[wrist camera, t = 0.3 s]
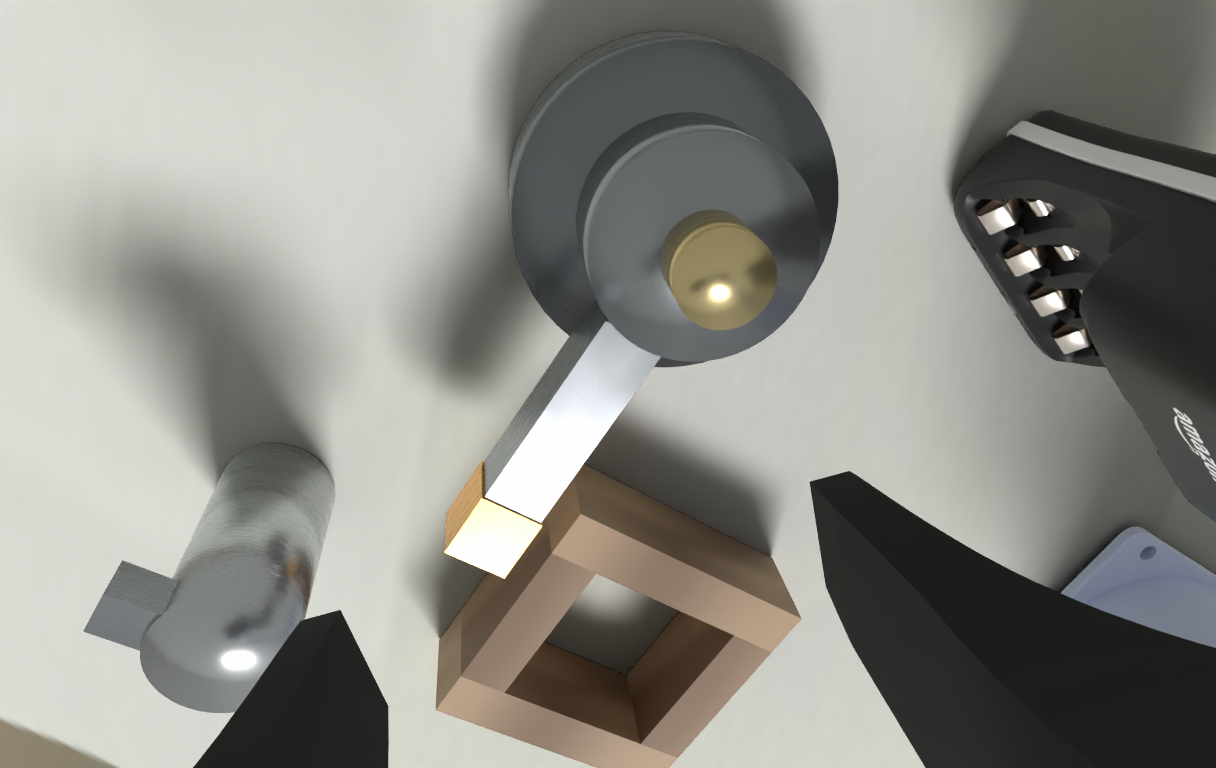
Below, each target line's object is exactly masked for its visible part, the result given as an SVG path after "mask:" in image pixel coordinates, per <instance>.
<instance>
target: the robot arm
mask: <svg viewBox="0 0 1216 768" xmlns="http://www.w3.org/2000/svg"><path fill="white" fill-rule="evenodd" d="M810 487H811V494H812V500H813V506H814V513H815V519H816V526H817V532H818V539H819V545H820V551H821V558H822V564H823V571H824V577H825V584H826V588H827V590H828V592H829V595H830V597H831V599H832V602H833V604H834V606H835V608H836V611H837V613H838V615H839V618H840V620H841V622H842V624H843V626H844V629H845V631H846V633H847V635H848V637H849V640H850V642H851V644H852V646H853V647H854V649H855V651H856V653H857V654H858V656H859V658H860V659H861V661H862V663H863V664H864V666H865V668H866V669H867V671H868V673H869V675H870V676H871V678H872V680H873V681H874V683H875V685H876V686H877V688H878V690H879V691H880V693H881V695H882V696H883V698H884V700H885V701H886V703H887V705H888V706H889V708H890V709H891V711H892V713H893V714H894V716H895V718H896V719H897V721H898V723H899V724H900V726H901V728H902V729H903V731H904V733H905V734H906V736H907V738H908V739H909V741H910V743H911V744H912V746H913V748H914V749H915V751H916V753H917V754H918V756H919V758H920V759H921V761H922V762H923V764H924V766H925V767H926V768H1216V575H1215V574H1214V573H1212V572H1211V571H1209V570H1207V569H1206V568H1204V567H1203V566H1201V565H1200V564H1198V563H1196V562H1195V561H1193V560H1192V559H1190V558H1189V557H1187V556H1185V555H1184V554H1182V553H1181V552H1179V551H1178V550H1176V549H1175V548H1173V547H1171V546H1170V545H1168V544H1167V543H1165V542H1164V541H1162V540H1160V539H1159V538H1157V537H1156V536H1154V535H1153V534H1151V533H1149V532H1148V531H1146V530H1145V529H1143V528H1141V527H1130V528H1128V529H1125V530H1124V531H1123V532H1121V533H1120V534H1119V535H1118V536H1117V537H1116V538H1115V539H1114V540H1113V541H1112V542H1111V543H1110V544H1109V545H1108V546H1107V547H1106V548H1105V549H1104V550H1103V551H1102V552H1101V553H1100V554H1099V555H1098V556H1097V557H1096V558H1095V559H1094V560H1093V561H1092V562H1091V563H1090V564H1089V565H1088V566H1087V567H1086V568H1085V569H1084V570H1083V571H1082V572H1081V573H1080V574H1079V575H1078V576H1077V577H1076V578H1075V579H1074V580H1073V581H1072V582H1071V583H1070V584H1069V585H1068V586H1067V587H1066V588H1065V589H1064V590H1063V591H1062V592H1061V593H1059V592H1057V591H1054V590H1052V589H1050V588H1047V587H1045V586H1043V585H1041V584H1038V583H1036V582H1034V581H1032V580H1030V579H1028V578H1026V577H1024V576H1021V575H1019V574H1017V573H1015V572H1013V571H1011V570H1009V569H1007V568H1006V567H1004V566H1002V565H1000V564H998V563H996V562H994V561H992V560H990V559H989V558H987V557H985V556H983V555H981V554H979V553H978V552H976V551H974V550H972V549H971V548H969V547H967V546H965V545H964V544H962V543H960V542H959V541H957V540H955V539H954V538H952V537H950V536H949V535H947V534H945V533H944V532H942V531H940V530H939V529H937V528H935V527H934V526H932V525H931V524H929V523H927V522H926V521H924V520H923V519H921V518H919V517H918V516H916V515H915V514H913V513H912V512H910V511H909V510H907V509H906V508H904V507H903V506H901V505H900V504H898V503H897V502H895V501H894V500H892V499H891V498H889V497H888V496H886V495H885V494H883V493H882V492H880V491H879V490H877V489H876V488H874V487H873V486H872V485H870V484H869V483H867V482H866V481H864V480H863V479H861V478H860V477H858V476H857V475H855V474H853V473H852V472H850V471H848V472H844V473H840V474H837V475H833V476H829V477H826V478H822V479H818V480H815V481H811V482H810ZM1143 549H1144V550H1143ZM388 744H389V740H388V705H387V703H386V701H385V699H384V697H383V695H382V693H381V691H380V689H379V687H378V685H377V683H376V681H375V679H374V677H373V675H372V673H371V671H370V669H369V667H368V665H367V663H366V661H365V659H364V657H363V655H362V653H361V651H360V649H359V647H358V645H357V643H356V641H355V639H354V637H353V634H352V632H351V630H350V628H349V626H348V624H347V622H346V620H345V618H344V616H343V614H342V612H341V610H338V611H335V612H331V613H327V614H324V615H320V616H316V617H313V618H309V619H305V620H302V621H300V622H299V624H298V625H297V626H296V628H295V629H294V630H293V631H292V633H291V634H290V636H289V637H288V638H287V640H286V641H285V643H284V644H283V645H282V647H281V648H280V650H279V651H278V652H277V654H276V655H275V657H274V658H273V660H272V661H271V662H270V664H269V665H268V667H267V668H266V670H265V671H264V672H263V674H262V675H261V677H260V678H259V680H258V681H257V683H256V684H255V685H254V687H253V688H252V690H251V691H250V692H249V694H248V695H247V697H246V698H245V699H244V701H243V702H242V704H241V705H240V706H239V708H238V709H237V710H236V712H235V713H234V715H233V716H232V717H231V719H230V720H229V722H228V723H227V724H226V726H225V727H224V729H223V730H222V731H221V733H220V734H219V735H218V737H217V738H216V739H215V741H214V742H213V743H212V744H211V746H210V747H209V748H208V749H207V751H206V752H205V753H204V755H203V756H202V757H201V758H200V760H199V761H198V762H197V764H196V765H195V766H194V767H193V768H388Z"/></svg>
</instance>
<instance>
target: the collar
mask: <svg viewBox="0 0 1216 768" xmlns="http://www.w3.org/2000/svg"><path fill="white" fill-rule="evenodd" d="M703 210H722V211H726V212H729V213H731V214H733V215H735V216H737V217H738V218H740V219H741V220H742V221H743V222H744V223H745V224H746V225H747V226H748V227H749V228H750V229H751V230H752V231H753V232H754V233H755V234H756V235H757V236H758V237H759V238H760V240H761V241H762V242H763V243H764V244H765V245H766V246H767V247H768V248H769V250H770V251H771V253H772V255H773V257H774V259H775V262H776V267H777V283H776V288H775V291H774V294H773V296H772V298H771V300H770V302H769V303H768V305H767V306H766V308H765V309H764V310H763V311H762V312H761V313H760V314H759V315H758V316H757V317H756V318H754V319H753V320H752V321H750V322H748V323H747V324H745V325H743V326H740V327H737V328H734V329H729V330H711V329H707V328H704V327H701V326H699V325H697V324H695V323H694V322H692V321H691V320H690V319H689V318H687V317H686V316H685V314H684V313H683V312H682V310H681V309H680V307H679V305H678V303H677V302H676V300H675V298H674V296H673V294H672V293H671V291H670V289H669V287H668V286H667V284H666V282H665V280H664V278H663V275H662V272H661V267H660V255H661V250H662V246H663V243H664V241H665V239H666V237H667V235H668V234H669V232H670V231H671V230H672V228H673V227H674V226H675V225H676V224H677V223H678V222H680V221H681V220H682V219H684V218H685V217H687V216H689V215H691V214H693V213H696V212H699V211H703ZM576 234H577V241H578V246H579V250H580V253H581V256H582V260H583V263H584V265H585V268H586V271H587V274H588V277H589V280H590V283H591V286H592V289H593V292H594V295H595V297H596V298H595V299H594V301H593V302H592V304H591V305H590V307H589V308H588V310H587V311H586V313H585V314H584V316H583V317H582V319H581V320H580V322H579V323H578V325H577V326H576V328H575V329H574V330H573V332H572V333H571V335H570V336H569V338H568V339H567V341H566V342H565V344H564V345H563V347H562V348H561V350H560V351H559V353H558V354H557V356H556V357H555V359H554V360H553V361H552V363H551V364H550V366H549V367H548V369H547V370H546V372H545V373H544V375H543V376H542V378H541V379H540V381H539V382H538V384H537V385H536V387H535V388H534V390H533V391H532V392H531V394H530V395H529V397H528V398H527V400H526V401H525V403H524V404H523V406H522V407H521V409H520V410H519V412H518V413H517V415H516V416H515V418H514V419H513V421H512V422H511V423H510V425H509V426H508V428H507V429H506V431H505V432H504V434H503V435H502V437H501V438H500V440H499V441H498V443H497V444H496V446H495V447H494V449H493V450H492V452H491V453H490V454H489V456H488V457H487V459H486V460H485V462H482V461H481V463H480V464H479V466H478V467H477V469H476V470H475V472H474V473H473V475H472V476H471V478H470V479H469V481H468V482H467V484H466V485H465V486H464V488H463V489H462V491H461V492H460V494H459V495H458V497H457V498H456V500H455V501H454V503H453V504H452V506H451V507H450V509H449V510H448V512H447V514H446V534H445V553H446V554H449V555H451V556H453V557H456V558H458V559H460V560H463V561H465V562H467V563H470V564H472V565H474V566H477V567H479V568H481V569H484V570H486V571H488V572H491V573H493V574H495V575H498V576H500V577H502V578H505V577H506V575H507V574H508V573H509V571H510V570H511V569H512V567H513V566H514V564H515V563H516V562H517V560H518V559H519V558H520V556H521V555H522V553H523V552H524V551H525V549H526V548H527V546H528V545H529V544H530V542H531V541H532V540H533V538H534V537H535V535H536V534H537V533H538V531H539V530H540V529H541V527H542V521H543V519H544V518H545V516H546V515H547V514H548V512H549V511H550V510H551V508H552V507H553V505H554V504H555V503H556V501H557V500H558V499H559V497H560V496H561V494H562V493H563V492H564V490H565V489H566V487H567V486H568V485H569V483H570V482H571V481H572V479H573V478H574V476H575V475H576V474H577V472H578V471H579V470H580V468H581V467H582V465H583V464H584V463H585V461H586V460H587V458H588V457H589V456H590V454H591V453H592V452H593V450H594V449H595V447H596V446H597V445H598V443H599V442H600V441H601V439H602V438H603V436H604V435H605V434H606V432H607V431H608V429H609V428H610V427H611V425H612V424H613V423H614V421H615V420H616V418H617V417H618V416H619V414H620V413H621V411H622V410H623V409H624V407H625V406H626V405H627V403H628V402H629V400H630V399H631V398H632V396H633V395H634V394H635V392H636V391H637V389H638V388H639V387H640V385H641V384H642V382H643V381H644V380H645V378H646V377H647V376H648V374H649V373H650V371H651V370H652V369H653V367H654V366H655V365H656V363H657V362H658V360H659V359H660V358H661V357H663V358H667V359H672V360H677V361H690V362H696V361H709V360H715V359H721V358H724V357H728V356H731V355H734V354H737V353H739V352H742V351H744V350H746V349H748V348H750V347H752V346H754V345H756V344H757V343H759V342H761V341H762V340H764V339H765V338H766V337H768V336H769V335H771V334H772V333H773V332H774V331H776V330H777V329H778V328H779V327H780V326H781V325H782V324H783V323H784V322H785V321H786V320H787V319H788V318H789V316H790V315H791V314H792V313H793V312H794V311H795V309H796V308H797V306H798V305H799V303H800V302H801V300H802V299H803V297H804V295H805V293H806V291H807V289H808V288H809V286H810V283H811V281H812V278H813V275H814V273H815V269H816V265H817V261H818V257H819V248H820V225H819V218H818V212H817V209H816V206H815V203H814V199H813V197H812V195H811V193H810V191H809V188H808V186H807V185H806V183H805V181H804V180H803V178H802V177H801V175H800V174H799V173H798V172H797V170H796V169H795V168H794V167H793V166H792V165H791V164H790V163H789V162H788V161H787V160H786V159H785V158H783V157H782V156H781V155H780V154H779V153H777V152H776V151H774V150H773V149H772V148H770V147H769V146H767V145H766V144H764V143H763V142H761V141H760V140H759V139H757V138H756V137H754V136H753V135H751V134H750V133H748V132H747V131H746V130H744V129H742V128H741V127H739V126H737V125H736V124H734V123H732V122H730V121H728V120H725V119H723V118H721V117H717V116H713V115H710V114H705V113H696V112H678V113H671V114H665V115H661V116H658V117H655V118H651V119H649V120H646V121H644V122H642V123H640V124H638V125H636V126H634V127H632V128H631V129H629V130H628V131H626V132H624V133H623V134H622V135H620V136H619V137H618V138H617V139H616V140H614V141H613V142H612V143H611V144H610V145H609V146H608V147H607V148H606V149H605V150H604V151H603V152H602V154H601V155H600V156H599V158H598V159H597V160H596V162H595V163H594V165H593V166H592V168H591V170H590V172H589V174H588V175H587V177H586V180H585V182H584V185H583V187H582V190H581V193H580V197H579V201H578V205H577V214H576Z"/></svg>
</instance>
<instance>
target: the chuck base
mask: <svg viewBox="0 0 1216 768" xmlns="http://www.w3.org/2000/svg"><path fill="white" fill-rule="evenodd" d="M678 112H696V113H705V114H710V115H713V116H717V117H721V118H723V119H725V120H728V121H730V122H732V123H734V124H736V125H737V126H739V127H741V128H742V129H744V130H746V131H747V132H748V133H750V134H751V135H753V136H754V137H756V138H757V139H759V140H760V141H761V142H763V143H764V144H766V145H767V146H769V147H770V148H772V149H773V150H774V151H776V152H777V153H779V154H780V155H781V156H782V157H783V158H785V159H786V160H787V161H788V162H789V163H790V164H791V165H792V166H793V167H794V168H795V169H796V170H797V172H798V173H799V174H800V175H801V177H802V178H803V180H804V181H805V183H806V185H807V186H808V188H809V191H810V193H811V195H812V197H813V199H814V203H815V206H816V209H817V212H818V218H819V225H820V248H819V257H818V261H817V265H816V269H815V273H814V275H813V278H812V281H811V283H812V282H813V280H814V279H815V277H816V275H817V273H818V271H819V269H820V267H821V265H822V263H823V261H824V259H825V256H826V253H827V251H828V248H829V245H830V243H831V239H832V235H833V231H834V227H835V223H836V216H837V208H838V175H837V168H836V161H835V157H834V153H833V150H832V146H831V142H830V139H829V137H828V134H827V132H826V130H825V127H824V125H823V123H822V121H821V119H820V117H819V115H818V114H817V112H816V111H815V109H814V107H813V106H812V104H811V103H810V101H809V100H808V99H807V97H806V96H805V95H804V94H803V93H802V92H801V90H800V89H799V88H798V87H797V86H796V85H795V84H794V83H793V82H792V81H791V80H790V79H789V78H788V77H786V76H785V75H784V74H783V73H782V72H781V71H780V70H778V69H776V68H775V67H773V66H772V65H770V64H769V63H767V62H766V61H764V60H763V59H761V58H759V57H757V56H754V55H752V54H750V53H748V52H745V51H743V50H741V49H739V48H736V47H734V46H731V45H729V44H726V43H724V42H721V41H719V40H716V39H713V38H709V37H706V36H702V35H699V34H694V33H686V32H679V31H653V32H647V33H640V34H634V35H630V36H627V37H624V38H620V39H617V40H614V41H611V42H609V43H607V44H605V45H602V46H600V47H598V48H596V49H594V50H592V51H590V52H589V53H587V54H586V55H584V56H582V57H581V58H579V59H578V60H576V61H575V62H573V63H572V64H571V65H570V66H569V67H568V68H566V69H565V70H564V71H563V72H562V73H560V74H559V75H558V76H557V77H556V78H555V79H554V80H553V82H552V83H551V84H550V85H549V86H548V87H547V88H546V89H545V90H544V91H543V93H542V94H541V96H540V97H539V99H538V100H537V101H536V103H535V104H534V106H533V107H532V109H531V110H530V112H529V114H528V116H527V118H526V120H525V122H524V124H523V126H522V128H521V131H520V133H519V136H518V139H517V142H516V144H515V147H514V151H513V156H512V161H511V165H510V173H509V185H508V195H509V211H510V219H511V226H512V234H513V239H514V245H515V250H516V255H517V258H518V261H519V264H520V267H521V270H522V273H523V276H524V278H525V280H526V282H527V284H528V286H529V288H530V290H531V292H532V294H533V295H534V297H535V298H536V300H537V301H538V303H539V304H540V306H541V307H542V309H543V310H544V311H545V312H546V314H547V315H548V316H549V317H550V318H551V319H552V320H553V321H554V322H555V324H556V325H557V326H559V327H560V328H561V329H562V330H563V331H564V332H566V333H567V334H568V335H569V336H570V335H571V333H572V332H573V330H574V329H575V328H576V326H577V325H578V323H579V322H580V320H581V319H582V317H583V316H584V314H585V313H586V311H587V310H588V308H589V307H590V305H591V304H592V302H593V301H594V299H595V298H596V297H595V295H594V292H593V289H592V286H591V283H590V280H589V277H588V274H587V271H586V268H585V265H584V263H583V260H582V256H581V253H580V250H579V246H578V241H577V234H576V214H577V205H578V201H579V197H580V193H581V190H582V187H583V185H584V182H585V180H586V177H587V175H588V174H589V172H590V170H591V168H592V166H593V165H594V163H595V162H596V160H597V159H598V158H599V156H600V155H601V154H602V152H603V151H604V150H605V149H606V148H607V147H608V146H609V145H610V144H611V143H612V142H613V141H614V140H616V139H617V138H618V137H619V136H620V135H622V134H623V133H624V132H626V131H628V130H629V129H631V128H632V127H634V126H636V125H638V124H640V123H642V122H644V121H646V120H649V119H651V118H655V117H658V116H661V115H665V114H671V113H678ZM660 267H661V272H662V275H663V278H664V280H665V282H666V284H667V286H668V287H669V289H670V291H671V293H672V294H673V296H674V298H675V300H676V302H677V303H678V305H679V307H680V309H681V310H682V312H683V313H684V314H685V316H686V317H687V318H689V319H690V320H691V321H692V322H694V323H695V324H697V325H699V326H701V327H704V328H707V329H711V330H729V329H734V328H737V327H740V326H743V325H745V324H747V323H748V322H750V321H752V320H753V319H754V318H756V317H757V316H758V315H759V314H760V313H761V312H762V311H763V310H764V309H765V308H766V306H767V305H768V303H769V302H770V300H771V298H772V296H773V294H774V291H775V288H776V283H777V267H776V262H775V259H774V257H773V255H772V253H771V251H770V250H769V248H768V247H767V246H766V245H765V244H764V243H763V242H762V241H761V240H760V238H759V237H758V236H757V235H756V234H755V233H754V232H753V231H752V230H751V229H750V228H749V227H748V226H747V225H746V224H745V223H744V222H743V221H742V220H741V219H740V218H738V217H737V216H735V215H733V214H731V213H729V212H726V211H722V210H703V211H699V212H696V213H693V214H691V215H689V216H687V217H685V218H684V219H682V220H681V221H680V222H678V223H677V224H676V225H675V226H674V227H673V228H672V230H671V231H670V232H669V234H668V235H667V237H666V239H665V241H664V243H663V246H662V250H661V255H660ZM811 283H810V285H811ZM703 362H706V361H696V362H690V361H677V360H672V359H667V358H663V357H661V358H660V359H659V360H658V362H657V363H656V365H655V366H654V367H677V366H686V365H692V364H697V363H703Z"/></svg>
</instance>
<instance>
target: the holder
mask: <svg viewBox="0 0 1216 768" xmlns="http://www.w3.org/2000/svg"><path fill="white" fill-rule="evenodd" d="M595 574H599V575H601V576H603V577H605V578H608V579H610V580H612V581H614V582H616V583H619V584H621V585H623V586H625V587H628V588H630V589H632V590H634V591H636V592H639V593H641V594H643V595H645V596H648V597H650V598H652V599H654V600H657V601H659V602H661V603H663V604H665V605H668V606H670V607H672V608H674V609H677V610H679V612H678V614H677V615H676V616H675V617H674V618H673V620H672V621H671V622H670V623H669V625H668V626H667V627H666V628H665V629H664V631H663V632H662V633H661V634H660V635H659V637H658V638H657V639H656V640H655V642H654V643H653V644H652V645H651V646H650V648H649V649H648V650H647V651H646V652H645V654H644V655H643V656H642V657H641V659H640V660H639V661H638V662H637V663H636V665H635V666H634V667H633V668H632V669H631V671H630V672H629V673H628V674H627V676H626V675H624V674H621V673H619V672H616V671H614V670H611V669H609V668H606V667H604V666H601V665H599V664H597V663H594V662H592V661H589V660H587V659H584V658H582V657H579V656H577V655H574V654H572V653H570V652H567V651H565V650H562V649H560V648H557V647H555V646H552V645H550V644H547V643H545V642H544V641H545V639H546V638H547V637H548V635H549V634H550V633H551V632H552V630H553V629H554V628H555V626H556V625H557V624H558V622H559V621H560V620H561V619H562V617H563V616H564V615H565V613H566V612H567V611H568V609H569V608H570V607H571V606H572V604H573V603H574V602H575V600H576V599H577V598H578V596H579V595H580V594H581V592H582V591H583V590H584V589H585V587H586V586H587V585H588V583H589V582H590V581H591V579H592V578H593V577H594V576H595ZM800 620H801V617H800V615H799V613H798V611H797V608H796V606H795V604H794V602H793V600H792V598H791V596H790V594H789V592H788V590H787V588H786V586H785V584H784V582H783V579H782V577H781V575H780V573H779V571H778V569H777V567H776V565H775V563H774V561H773V559H772V558H771V557H769V556H767V555H765V554H763V553H761V552H759V551H757V550H755V549H753V548H751V547H749V546H747V545H745V544H743V543H741V542H739V541H737V540H735V539H733V538H731V537H729V536H727V535H725V534H723V533H721V532H719V531H717V530H715V529H713V528H711V527H709V526H707V525H705V524H703V523H701V522H699V521H697V520H695V519H693V518H691V517H689V516H687V515H685V514H683V513H681V512H679V511H677V510H675V509H673V508H671V507H669V506H667V505H665V504H663V503H661V502H659V501H657V500H655V499H653V498H651V497H649V496H647V495H645V494H643V493H641V492H639V491H637V490H635V489H633V488H631V487H629V486H627V485H625V484H623V483H621V482H619V481H617V480H615V479H613V478H611V477H609V476H607V475H605V474H603V473H601V472H599V471H597V470H595V469H593V468H591V467H589V466H587V465H585V464H583V465H582V467H581V468H580V470H579V471H578V472H577V474H576V475H575V476H574V478H573V479H572V481H571V482H570V483H569V485H568V486H567V487H566V489H565V490H564V492H563V493H562V494H561V496H560V497H559V499H558V500H557V501H556V503H555V504H554V505H553V507H552V508H551V510H550V511H549V512H548V514H547V515H546V516H545V518H544V519H543V521H542V527H541V529H540V530H539V531H538V533H537V534H536V535H535V537H534V538H533V540H532V541H531V542H530V544H529V545H528V546H527V548H526V549H525V551H524V552H523V553H522V555H521V556H520V558H519V559H518V560H517V562H516V563H515V564H514V566H513V567H512V569H511V570H510V571H509V573H508V574H507V575H506V577H505V578H502V577H500V576H498V575H495V574H493V573H491V572H488V573H487V574H486V576H485V577H484V578H483V580H482V581H481V583H480V584H479V585H478V587H477V588H476V590H475V591H474V592H473V594H472V595H471V597H470V598H469V599H468V601H467V602H466V604H465V605H464V606H463V608H462V609H461V611H460V612H459V613H458V615H457V616H456V618H455V619H454V620H453V622H452V623H451V625H450V626H449V627H448V629H447V630H446V632H445V633H444V634H443V636H442V637H441V639H440V640H439V655H438V675H437V694H436V710H437V711H440V712H443V713H445V714H448V715H451V716H454V717H457V718H459V719H462V720H465V721H468V722H471V723H473V724H476V725H479V726H482V727H485V728H487V729H490V730H493V731H496V732H499V733H501V734H504V735H507V736H510V737H513V738H515V739H518V740H521V741H524V742H527V743H529V744H532V745H535V746H538V747H541V748H543V749H546V750H549V751H552V752H555V753H557V754H560V755H563V756H566V757H569V758H571V759H574V760H577V761H580V762H583V763H585V764H588V765H591V766H594V767H597V768H669V767H670V766H671V765H672V764H673V763H674V762H675V761H676V759H677V758H678V757H679V756H680V755H681V754H682V753H683V752H684V750H685V749H686V748H687V747H688V746H689V745H690V744H691V743H692V741H693V740H694V739H695V738H696V737H697V736H698V735H699V734H700V732H701V731H702V730H703V729H704V728H705V727H706V726H707V725H708V723H709V722H710V721H711V720H712V719H713V718H714V717H715V715H716V714H717V713H718V712H719V711H720V710H721V709H722V708H723V706H724V705H725V704H726V703H727V702H728V701H729V700H730V699H731V697H732V696H733V695H734V694H735V693H736V692H737V691H738V690H739V688H740V687H741V686H742V685H743V684H744V683H745V682H746V681H747V679H748V678H749V677H750V676H751V675H752V674H753V673H754V672H755V670H756V669H757V668H758V667H759V666H760V665H761V664H762V663H763V661H764V660H765V659H766V658H767V657H768V656H769V655H770V654H771V652H772V651H773V650H774V649H775V648H776V647H777V646H778V645H779V643H780V642H781V641H782V640H783V639H784V638H785V637H786V636H787V634H788V633H789V632H790V631H791V630H792V629H793V628H794V627H795V625H796V624H797V623H798V622H799V621H800Z"/></svg>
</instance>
